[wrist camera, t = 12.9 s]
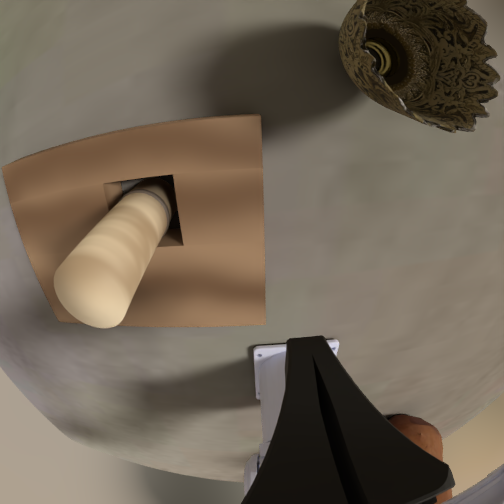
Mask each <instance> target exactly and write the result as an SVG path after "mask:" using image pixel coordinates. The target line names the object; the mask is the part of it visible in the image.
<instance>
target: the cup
mask: <svg viewBox="0 0 504 504" xmlns="http://www.w3.org/2000/svg"><path fill="white" fill-rule="evenodd" d="M467 2H468V1H467V0H357V1H356V3H355V4H354V5H353V7H352V8H351V9H350V11H349V12H348V14H347V15H346V17H345V19H344V21H343V23H342V26H341V29H340V34H339V52H340V56H341V60H342V63H343V65H344V68H345V70H346V72H347V73H348V75H349V77H350V78H351V80H352V81H353V82H354V83H355V85H356V86H357V87H358V88H359V89H360V90H361V91H362V92H363V93H365V94H366V95H367V96H368V97H370V98H371V99H372V100H374V101H375V102H377V103H379V104H381V105H382V106H384V107H386V108H388V109H391V110H393V111H395V112H398V113H400V114H402V115H405V116H407V117H409V118H412V119H414V120H416V121H419V122H421V123H424V124H426V125H429V126H431V127H432V126H434V127H437V128H440V129H442V130H445V131H448V132H451V133H456V130H460V131H467V132H473V131H474V130H475V129H476V124H475V123H476V119H475V117H481V118H483V117H489V116H490V114H489V112H488V111H487V109H486V107H484V106H483V105H481V104H480V103H487V102H488V101H489V100H491V99H494V98H496V97H497V96H498V91H497V90H496V89H494V88H493V85H495V84H496V83H497V82H498V81H499V80H500V75H499V74H498V72H497V71H496V70H495V69H494V68H493V67H492V66H490V65H489V64H487V63H486V61H487V60H489V59H492V58H496V57H497V56H498V55H497V53H496V51H495V50H494V49H493V48H492V47H491V46H490V45H485V44H486V43H485V36H486V34H487V29H488V27H487V22H486V21H485V20H484V19H483V18H482V17H481V16H480V15H479V14H478V13H476V12H475V11H474V10H472V9H471V8H469V7H468V6H466V5H467ZM484 43H485V44H484ZM367 48H370V49H373V50H374V51H376V52H377V53H378V55H379V57H380V60H381V64H380V67H379V68H378V69H377V70H376V68H375V66H376V59H375V58H374V57H373V56H372V55H371V54H370V53H369V51H368V49H367ZM491 85H492V86H491Z"/></svg>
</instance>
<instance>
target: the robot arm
mask: <svg viewBox="0 0 504 504" xmlns="http://www.w3.org/2000/svg"><path fill="white" fill-rule="evenodd" d="M338 347H339V342H338V340H336V339H333V340H326V339H325V337H324V336H312V337H302V338H290V339H289V340H287V344H281V345H266V346H256V347H255V348H254V350H253V351H254V369H255V386H256V398H257V399H259V400H260V401H261V418H262V434H263V443H262V444H259V449H260V454H253V455H252V456H251V458H250V459H249V460H248V461H247V462H246V465H245V471H244V489H245V498H244V499H243V501H242V503H241V504H434V503H436V502H437V498H436V496H437V495H439V494H441V493H443V492H445V491H447V490H449V489H451V488H453V487H454V486H455V481H454V478H453V475H452V472H451V470H450V468H449V465H447V464H446V463H444V462H442V461H441V460H439V459H437V458H436V457H434V456H433V455H431V454H429V453H428V452H426V451H425V450H423V449H422V448H421V447H419V446H418V445H416V444H415V443H414V442H413V441H411V440H410V439H409V438H408V437H406V436H405V435H404V434H403V433H402V432H400V431H399V430H398V429H397V428H396V427H394V426H393V425H392V424H391V423H390V422H389V421H388V420H387V419H386V418H385V417H384V416H383V415H382V414H381V413H380V412H379V411H378V410H377V409H376V408H375V407H374V405H373V404H372V403H371V402H370V401H369V400H368V399H367V397H366V396H365V395H364V394H363V393H362V391H361V390H360V389H359V388H358V386H357V385H356V384H355V383H354V381H353V380H352V378H351V377H350V376H349V374H348V373H347V372H346V370H345V369H344V367H343V366H342V365H341V363H340V362H339V360H338V359H337V357H336V354H337V351H338ZM441 504H504V464H503V465H501V466H500V467H498V468H497V469H495V470H494V471H493V472H491V473H490V474H488V475H487V477H486V478H484V479H483V480H481V481H480V482H478V483H477V484H475V485H473V486H472V487H470V488H468V489H467V490H465V491H463V492H462V493H460V494H458V495H456V496H454V497H453V498H451V499H449V500H447V501H445V502H443V503H441Z"/></svg>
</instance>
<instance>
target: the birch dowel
mask: <svg viewBox="0 0 504 504" xmlns="http://www.w3.org/2000/svg"><path fill="white" fill-rule="evenodd" d="M176 209H177V200H176V193H175V190H174V188H173V187H172V186H171V185H170V184H169V183H168V182H166V181H165V180H162V179H159V178H148V179H145V180H143V181H141V182H140V183H139V184H138V185H137V186H136V187H134V188H133V189H132V190H131V191H130V192H128V193H126V194H125V195H124V196H123V197H122V198H121V199H120V200H119V201H118V203H117V205H116V206H114V207H113V208H112V209H111V210H110V211H109V212H108V213H107V214H106V215H105V216H104V218H103V219H102V220H101V221H100V222H99V223H98V224H97V225H96V226H95V227H94V228H93V229H92V230H91V231H90V232H89V233H88V234H87V235H86V236H85V238H84V239H83V240H82V241H81V242H80V243H79V244H78V245H77V246H76V248H75V249H74V250H73V251H72V252H71V253H70V254H69V256H68V257H67V258H66V259H65V260H64V261H63V263H62V264H61V265H60V266H59V267H58V269H57V270H56V272H55V275H54V288H55V292H56V294H57V297H58V299H59V300H60V302H61V304H62V305H63V306H64V308H65V309H66V310H67V311H68V312H69V313H70V314H71V315H73V316H74V317H75V318H76V319H78V320H79V321H81V322H83V323H85V324H87V325H90V326H93V327H97V328H111V327H114V326H116V325H118V324H119V323H120V322H121V321H122V320H123V318H124V316H125V314H126V312H127V309H128V307H129V305H130V303H131V300H132V298H133V296H134V294H135V292H136V289H137V287H138V285H139V283H140V281H141V279H142V276H143V274H144V272H145V270H146V268H147V266H148V264H149V262H150V260H151V258H152V256H153V254H154V252H155V250H156V248H157V246H158V244H159V242H160V240H161V238H162V237H163V236H164V235H165V233H166V231H167V229H168V227H169V223H170V221H171V219H172V217H173V215H174V213H175V212H176Z"/></svg>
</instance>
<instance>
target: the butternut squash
mask: <svg viewBox="0 0 504 504" xmlns="http://www.w3.org/2000/svg"><path fill="white" fill-rule="evenodd" d="M388 421H389V422H390V423H391V424H392V425H393V426H394V427H396V428H397V429H398V430H399V431H400V432H402V433H403V434H404V435H405V436H406V437H408V438H409V439H410V440H411V441H413V442H414V443H415V444H416V445H418V446H419V447H421V448H422V449H423V450H425V451H426V452H428V453H429V454H431V455H433V456H434V457H436V458H437V459H439V460H441V461H442V462H443V457H442V453H443V446H442V439H441V435H440V433H439V431H438V430H437V428H435V427H434V426H433V425H431V424H430V423H428V422H426V421H425V420H423V419H421V418H418V417H413V416H408V415H404V414H402V415H395V416H393V417H392V418H390V419H389V420H388ZM436 498H437V502H436V503H434V504H441V503H443V502H445V501H447V500H449V499H451V498H452V490H451V489H449V490H447V491H445V492H443V493H441V494H439V495H437V496H436Z"/></svg>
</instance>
